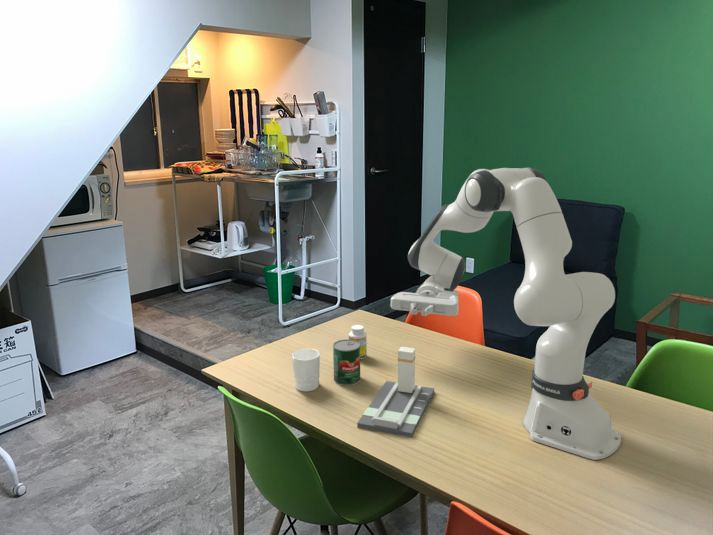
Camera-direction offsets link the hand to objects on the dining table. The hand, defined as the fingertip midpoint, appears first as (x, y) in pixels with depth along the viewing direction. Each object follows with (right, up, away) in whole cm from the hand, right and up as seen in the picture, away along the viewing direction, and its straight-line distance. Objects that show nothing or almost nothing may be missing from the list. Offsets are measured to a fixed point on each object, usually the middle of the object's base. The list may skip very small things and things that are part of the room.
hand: (418, 312), depth 165 cm
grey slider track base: (-7, -24, -13) cm, 28 cm away
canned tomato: (-20, -20, +4) cm, 29 cm away
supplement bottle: (-17, -16, +19) cm, 30 cm away
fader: (-4, -21, -6) cm, 22 cm away
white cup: (-32, -21, 0) cm, 38 cm away
